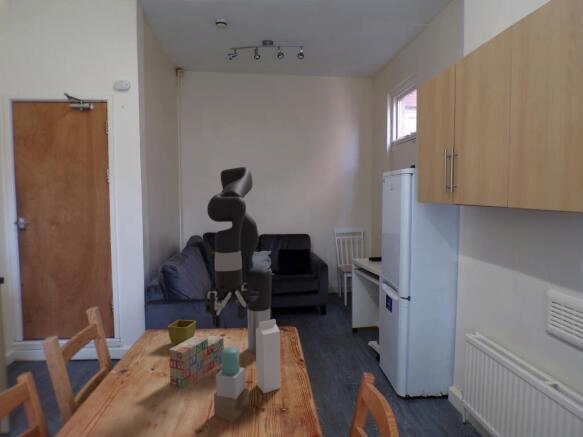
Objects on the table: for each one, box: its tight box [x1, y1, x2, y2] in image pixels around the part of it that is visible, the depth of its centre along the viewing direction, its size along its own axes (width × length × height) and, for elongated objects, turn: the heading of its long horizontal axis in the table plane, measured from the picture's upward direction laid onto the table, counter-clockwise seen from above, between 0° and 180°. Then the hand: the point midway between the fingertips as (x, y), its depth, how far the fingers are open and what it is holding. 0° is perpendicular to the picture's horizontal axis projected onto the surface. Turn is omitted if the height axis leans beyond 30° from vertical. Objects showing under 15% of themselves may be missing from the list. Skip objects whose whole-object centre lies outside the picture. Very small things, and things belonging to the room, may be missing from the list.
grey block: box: [215, 366, 246, 399], centre depth 98 cm, size 6×6×6 cm
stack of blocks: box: [168, 334, 225, 389], centre depth 122 cm, size 21×6×12 cm, turn 154°
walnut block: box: [213, 387, 250, 424], centre depth 99 cm, size 7×7×6 cm
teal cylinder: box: [221, 346, 240, 376], centre depth 98 cm, size 5×5×6 cm
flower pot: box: [167, 319, 197, 347], centre depth 147 cm, size 9×9×9 cm
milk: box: [255, 318, 282, 394], centre depth 112 cm, size 6×6×22 cm
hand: (229, 323), depth 98 cm, fingers open, 8 cm apart
